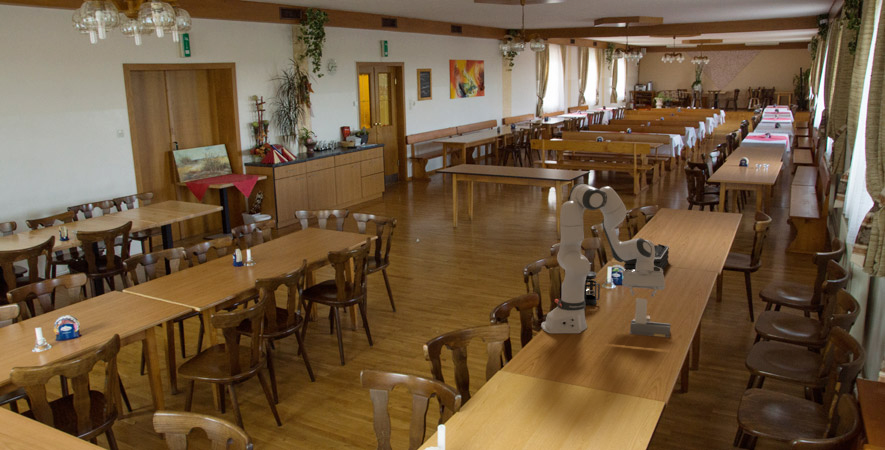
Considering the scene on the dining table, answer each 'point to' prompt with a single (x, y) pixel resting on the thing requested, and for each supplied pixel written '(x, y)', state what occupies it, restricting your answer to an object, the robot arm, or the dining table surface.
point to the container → (659, 260)
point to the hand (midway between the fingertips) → (642, 295)
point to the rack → (650, 329)
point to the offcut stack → (646, 319)
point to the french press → (591, 289)
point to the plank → (641, 311)
